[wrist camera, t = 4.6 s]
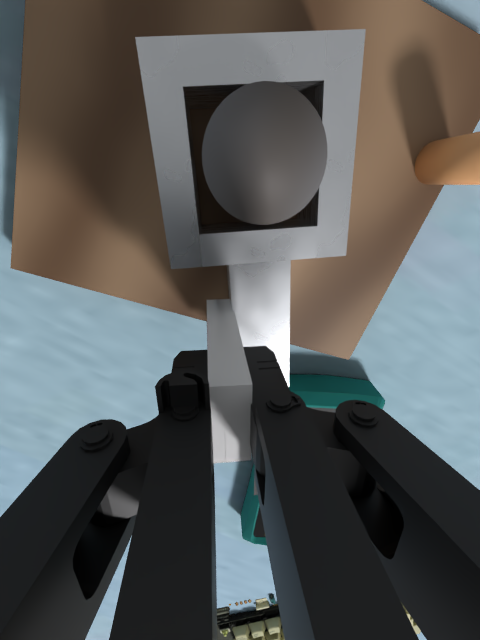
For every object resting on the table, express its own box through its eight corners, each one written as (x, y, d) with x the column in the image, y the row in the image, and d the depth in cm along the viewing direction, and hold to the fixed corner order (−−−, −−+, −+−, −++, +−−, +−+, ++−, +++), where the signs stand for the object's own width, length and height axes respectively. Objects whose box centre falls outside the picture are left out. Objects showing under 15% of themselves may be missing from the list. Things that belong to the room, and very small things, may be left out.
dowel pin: (407, 176, 14) (465, 174, 11) (428, 133, 13) (497, 117, 10) (438, 190, 14) (504, 191, 11) (460, 149, 14) (537, 137, 10)
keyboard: (223, 658, 37) (224, 690, 34) (193, 595, 31) (192, 627, 29) (585, 584, 37) (610, 610, 34) (626, 506, 31) (659, 532, 29)
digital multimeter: (238, 516, 26) (241, 554, 23) (266, 367, 20) (274, 395, 17) (320, 515, 27) (333, 552, 24) (370, 373, 21) (394, 401, 18)
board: (28, 260, 15) (-86, 307, 9) (61, -170, 10) (-156, -683, 4) (338, 347, 19) (396, 420, 13) (484, 67, 14) (692, -22, 8)
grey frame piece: (153, 72, 11) (135, 36, 9) (329, 65, 12) (365, 29, 9) (194, 362, 17) (190, 397, 14) (315, 350, 17) (335, 382, 14)
